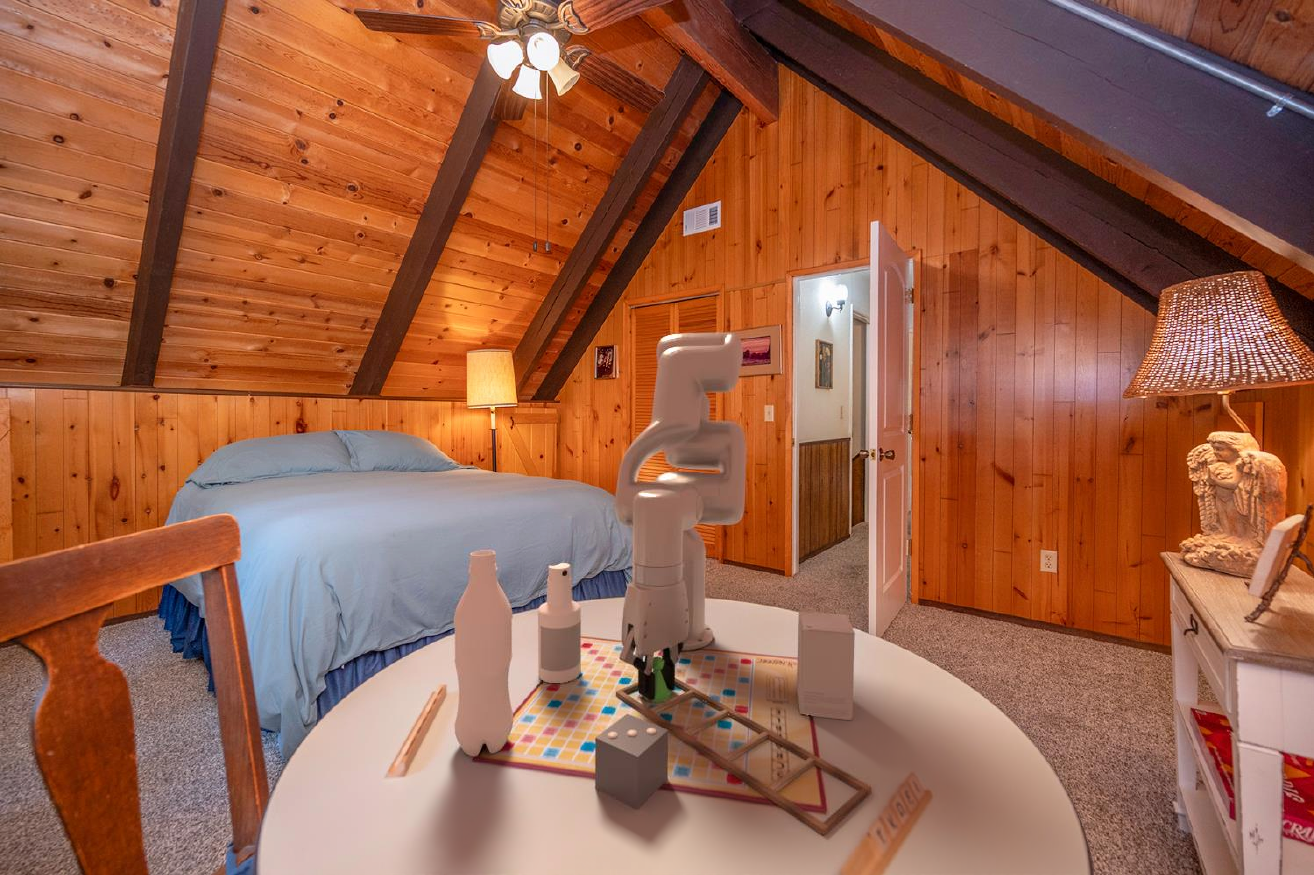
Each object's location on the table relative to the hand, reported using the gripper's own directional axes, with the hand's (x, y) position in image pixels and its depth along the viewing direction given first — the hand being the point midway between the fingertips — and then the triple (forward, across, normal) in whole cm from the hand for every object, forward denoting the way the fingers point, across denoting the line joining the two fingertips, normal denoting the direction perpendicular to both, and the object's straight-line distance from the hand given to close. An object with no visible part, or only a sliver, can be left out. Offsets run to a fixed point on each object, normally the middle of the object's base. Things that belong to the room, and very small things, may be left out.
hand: (656, 690), depth 82 cm
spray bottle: (+1, +8, -15) cm, 17 cm away
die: (+1, +15, +13) cm, 20 cm away
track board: (+1, 0, +14) cm, 14 cm away
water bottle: (+1, +25, -5) cm, 26 cm away
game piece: (+1, 0, 0) cm, 1 cm away
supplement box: (+1, -17, +18) cm, 25 cm away
